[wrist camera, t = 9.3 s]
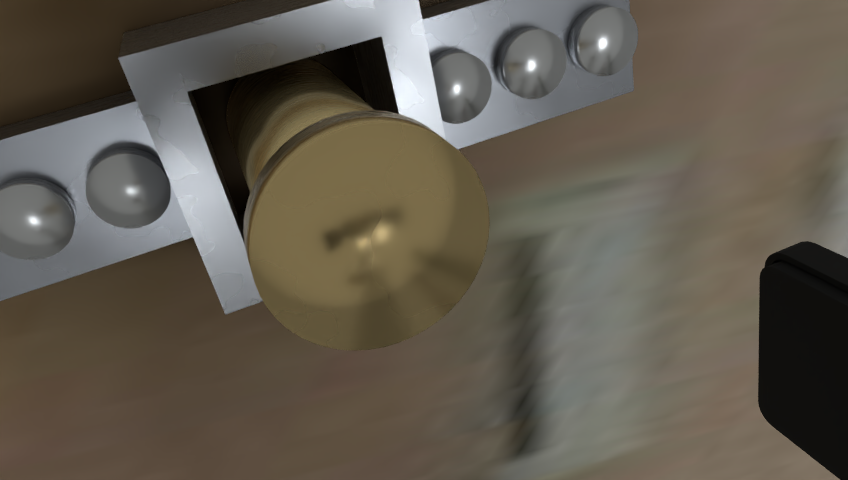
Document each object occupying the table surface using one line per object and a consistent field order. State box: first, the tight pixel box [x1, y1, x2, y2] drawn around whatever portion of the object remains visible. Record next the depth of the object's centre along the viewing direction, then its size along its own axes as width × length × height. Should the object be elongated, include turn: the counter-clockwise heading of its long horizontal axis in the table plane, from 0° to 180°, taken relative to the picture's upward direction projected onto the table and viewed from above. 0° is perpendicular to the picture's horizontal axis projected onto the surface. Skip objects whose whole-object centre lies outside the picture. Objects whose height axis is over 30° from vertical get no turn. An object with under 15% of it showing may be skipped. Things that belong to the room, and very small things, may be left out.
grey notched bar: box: [0, 0, 638, 314], centre depth 21 cm, size 24×8×4 cm, turn 103°
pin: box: [226, 58, 489, 350], centre depth 18 cm, size 5×5×10 cm
